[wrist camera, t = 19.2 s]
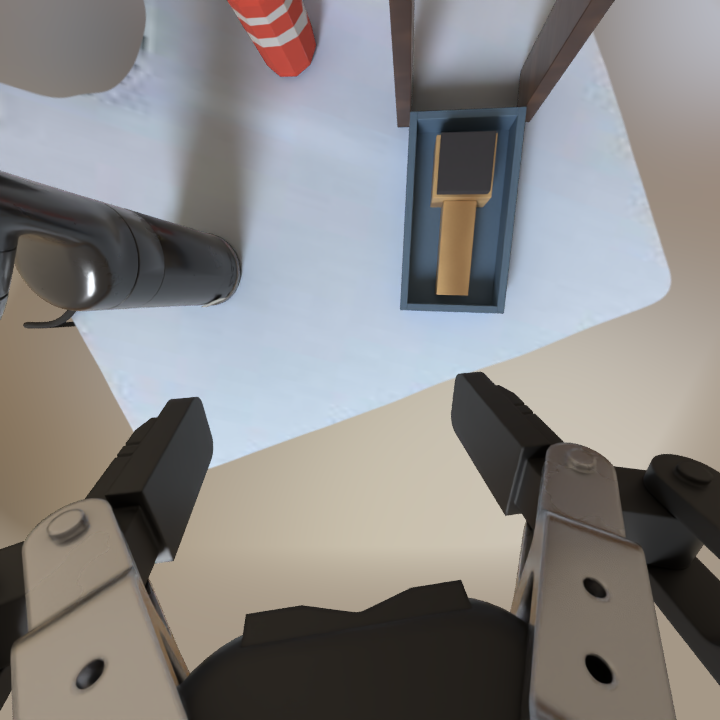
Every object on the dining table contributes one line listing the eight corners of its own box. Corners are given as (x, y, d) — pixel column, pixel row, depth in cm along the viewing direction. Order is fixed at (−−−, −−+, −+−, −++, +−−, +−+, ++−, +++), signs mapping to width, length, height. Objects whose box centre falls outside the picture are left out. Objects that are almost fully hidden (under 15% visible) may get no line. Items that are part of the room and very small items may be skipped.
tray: (400, 308, 43) (400, 309, 39) (409, 129, 38) (410, 111, 35) (495, 311, 41) (503, 313, 37) (515, 124, 37) (527, 106, 33)
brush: (424, 294, 41) (426, 294, 36) (433, 151, 38) (437, 129, 33) (474, 295, 40) (484, 295, 35) (488, 149, 37) (501, 126, 32)
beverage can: (308, 8, 38) (263, -119, 26) (322, 70, 39) (285, -26, 27) (259, 29, 39) (195, -84, 27) (274, 89, 40) (219, 4, 28)
